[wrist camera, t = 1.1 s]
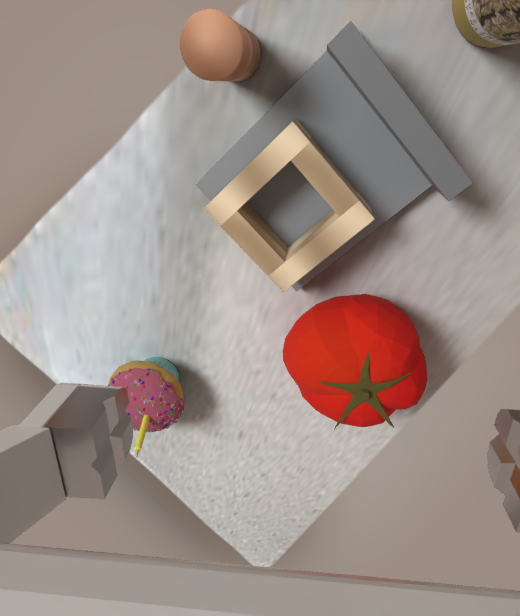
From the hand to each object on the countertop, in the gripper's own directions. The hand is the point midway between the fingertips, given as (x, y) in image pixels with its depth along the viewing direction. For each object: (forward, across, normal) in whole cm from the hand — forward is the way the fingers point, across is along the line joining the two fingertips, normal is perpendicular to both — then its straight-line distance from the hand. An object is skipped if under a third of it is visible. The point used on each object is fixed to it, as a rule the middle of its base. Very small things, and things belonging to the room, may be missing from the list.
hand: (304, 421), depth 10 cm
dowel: (+35, +6, -10) cm, 37 cm away
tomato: (+36, -5, +15) cm, 39 cm away
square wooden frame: (+33, +2, +2) cm, 33 cm away
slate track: (+35, -1, -1) cm, 35 cm away
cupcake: (+36, +17, +23) cm, 46 cm away
